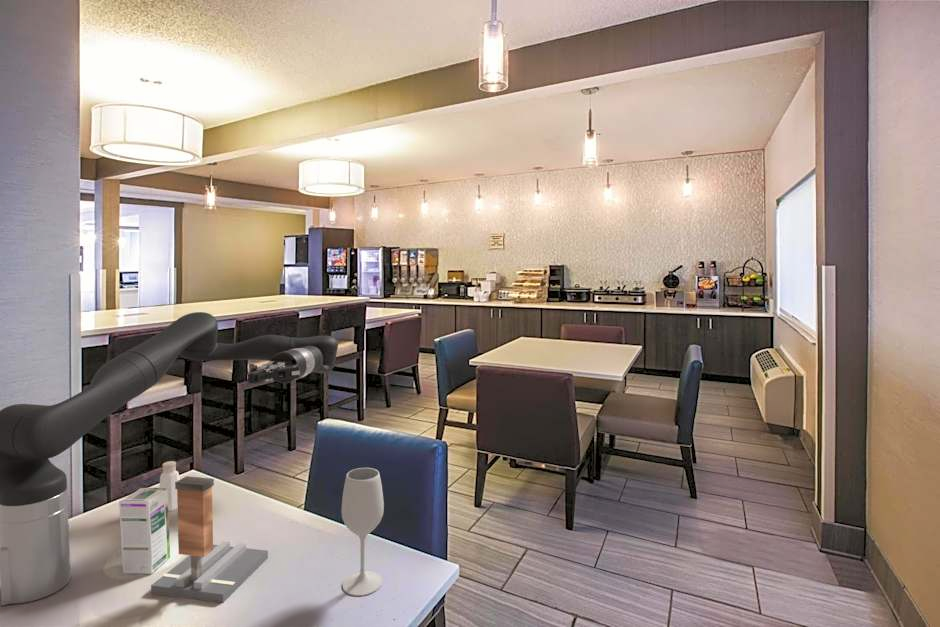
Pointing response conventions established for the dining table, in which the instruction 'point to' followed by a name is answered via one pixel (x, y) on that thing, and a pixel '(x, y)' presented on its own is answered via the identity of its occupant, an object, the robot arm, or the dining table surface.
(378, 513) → the wineglass
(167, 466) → the salt shaker
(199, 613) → the dining table surface
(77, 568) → the dining table surface
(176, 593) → the grey slotted base
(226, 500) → the dining table surface
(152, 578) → the dining table surface
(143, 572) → the syrup box
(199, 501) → the lever
